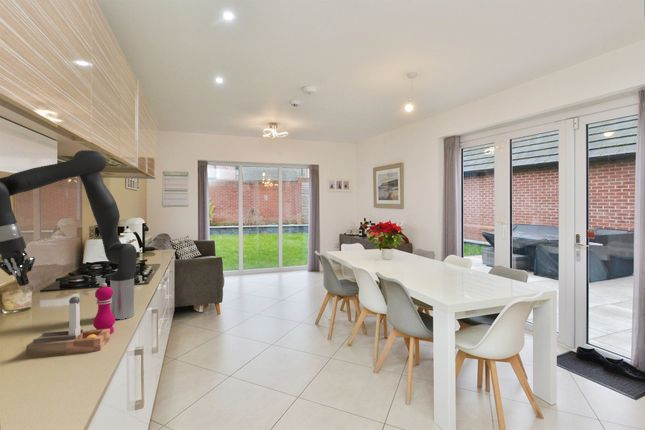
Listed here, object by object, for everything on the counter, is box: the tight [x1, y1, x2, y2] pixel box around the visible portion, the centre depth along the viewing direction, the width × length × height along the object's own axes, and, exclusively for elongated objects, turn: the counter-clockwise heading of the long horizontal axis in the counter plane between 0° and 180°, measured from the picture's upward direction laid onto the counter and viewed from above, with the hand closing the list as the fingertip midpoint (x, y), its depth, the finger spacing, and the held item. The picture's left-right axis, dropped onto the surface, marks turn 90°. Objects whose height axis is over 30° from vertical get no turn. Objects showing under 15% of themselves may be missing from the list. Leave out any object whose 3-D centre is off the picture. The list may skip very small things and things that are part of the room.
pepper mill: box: [92, 282, 116, 335], centre depth 127 cm, size 7×7×20 cm
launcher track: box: [25, 328, 111, 359], centre depth 114 cm, size 10×21×5 cm, turn 107°
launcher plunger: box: [68, 296, 82, 337], centre depth 114 cm, size 4×3×14 cm
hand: (24, 285), depth 114 cm, fingers closed
